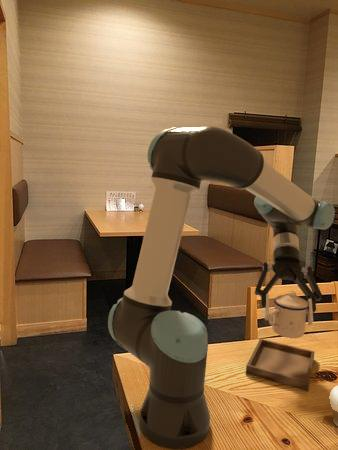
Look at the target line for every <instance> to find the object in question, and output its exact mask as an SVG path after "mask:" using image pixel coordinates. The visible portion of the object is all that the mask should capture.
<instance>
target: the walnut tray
mask: <svg viewBox="0 0 338 450" xmlns="http://www.w3.org/2000/svg"><path fill="white" fill-rule="evenodd" d="M315 352H316V351H313V350H310V349H305V348H302V347H297V346H293V345H289V344H284V343H281V342H277V341H273V340H267V339H264V338H260V339H259V340H258V342H257V344H256V346H255V348H254V350H253V352H252V354H251V356H250V358H249V359H248V362H247V364H246V366H245V367H246V368H245V375H248V376H252V377H255V378H258V379H263V380H266V381H269V382H273V383H277V384H281V385H284V386H288V387H291V388H294V389H298V390H301V391H305V392H309V389H310V382H311V378H312V371H313V365H314V360H315Z"/></svg>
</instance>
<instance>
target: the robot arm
mask: <svg viewBox="0 0 338 450" xmlns="http://www.w3.org/2000/svg"><path fill="white" fill-rule="evenodd" d="M147 163H149V167H150V169H151V171H152V173H151V177H150V180H151V181H152V183H153V185H154V187H155V189H154V194H153V197H152V201H151V205H150V210H149V214H148V217H147V222H146V227H145V231H144V235H143V240H142V243H141V248H140V252H139V255H138V256H139V257H138V259H137V260H138V261H137V264H136V268H135V272H134V277H133V281H132V285H131V286H130V287H129V288H127V289H125V290H124V291H123V295H122V297H121V298H119V299H118V300H117V303H115V304H113V305H112V307H111V309H110V311H109V314H108V318H107V319H108V320H107V328H108V332H109V334H110V336H111V337H112V339H113V340H114V342H116V344H118V346H119V347H120V348H122V349H123V350H125V351H127V352H128V353H129V354H131V355H132V356H134V357H135V358H136V359H138V360H139V361H140V362H142V363H143V364H144V365H146V366H147V367H148V369H149V383H148V384H149V385H148V390H147V393H146V395H145V398H144V400H143V403H142V405H141V408H140V410H139V411H140V412H139V427H140V430H141V431H140V432H142V434H143V435H144V436H145V438H147V439H148V440H149V441H150V442H152V443H153V444H156V445H158V446H160V447H163V448H168V449H187V448H191V447H193V446H196V445H198V444H200V443H201V442H203V440H204V439H206V438H207V436H208V434H209V433H210V425H211V413H210V410H209V407H208V404H207V400H206V395H205V382H206V372H207V371H206V370H207V369H206V368H207V360H208V359H207V358H208V350H209V348H208V347H209V342H208V330H207V328H206V326H205V325H206V324H204V323H203V322H202V320H200V318H198V317H197V316H195V315H193V314H191V313H188V312H185V311H183V312H182V311H180V310H171V308H172V304H173V301H172V300H171V299H170V297H169V294H168V293H169V290H170V285H171V281H172V276H173V273H174V270H175V264H176V260H177V257H178V256H177V255H178V253H179V248H180V244H181V240H182V235H183V231H184V227H185V222H186V219H187V215H188V210H189V207H190V202H191V198H192V196H193V195H194V194H196V193H198V192H199V191H200V188H201V182H202V181H210V182H217V183H222V184H226V185H229V186H230V187H232V188H233V189H237V190H246V191H247V192H249V193H250V194H252V195H253V196H255V197H254V200H253V205H254V207H255V208H256V210H257V211H258V213H259V214H260V215H261V217H262V218H263V219H264V220H265V221H266V223H267V224H268V225H269V226H270V228H271V229H272V236H273V237H272V242H273V244H272V245H273V246H272V247H273V254H272V256H273V263H272V264H269V263H268V262H263V263H262V272H261V275H260V277H259V280H258V282H257V285H256V286H255V290H254V295H255V296H259V297H260V306H261V308H264V321H269V320H268V318H269V314H270V294H269V292H270V291H271V289H272V288H273V287H274V286H275V284H276V283H277V282H278V281H279V280H282V281H286V280H287V281H289V282H294V283H295V284H296V285H297V286H298V288H299V289H300V290H301V292H302V293H303V294H304V296H305V297H306V299H307V300H306V301H307V303H308V305H309V307H308V308H307V325H308V326H312V325H313V323H314V314H315V313H316V311H317V303H316V302H320V301H321V299H322V297H323V293H322V292H321V290H320V287H319V285H318V283H317V281H316V279H315V276H314V274H313V268H312V266H311V265H309V266H307V267H303V266H302V265H301V259H300V258H301V257H300V245H299V244H300V242H299V226H301V227H306V228H309V229H310V228H311V229H314V230H327V229H329V228H330V227H331V226H332V224H333V223H334V219H335V213H336V212H335V210H336V209H335V207H334V205H333V203H331V202H329V201H324V200H317V199H315V198H314V197H312V196H311V195H310V194H308V193H307V192H306V191H304V190H303V189H302V188H300V187H299V186H298V185H296V184H295V183H294V182H293V181H291V180H290V179H288V177H286V176H285V175H283V174H282V173H281V172H280V171H278V170H276V168H274V167H273V166H271V165H270V164H269V163H267V162H266V161H265V157H264V155H263V153H262V152H261V151H260V150H259V149H257V148H256V147H255V146H253V145H252V144H251V143H249V142H248V141H246V140H244V139H243V138H242V137H239V136H238V135H236V134H234V133H232V132H230V131H229V130H226V129H224V128H221V127H218V126H212V125H209V126H208V125H207V126H205V125H204V126H191V127H190V126H188V127H182V126H174V127H171V128H167V129H164V130H163V129H162V131H160V132H158V133H157V134H156V135H155V136H154V137H153V138H152V140H151V141H150V144H149V147H148V150H147ZM271 270H272V271H273V273H274V275H273V277H272V278H271V279H270V280H269V282H268V283H267V284H266V286H265V287H264V288H263V289H262V287H263V284H264V281H265V279H266V277H267V274H268V273H269V272H270V271H271ZM301 273H303V276H305V278H306V281H307V283H308V284H307V283H306V282H305V281H304V279H303V277H302V275H301Z"/></svg>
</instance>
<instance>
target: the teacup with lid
mask: <svg viewBox="0 0 338 450" xmlns="http://www.w3.org/2000/svg"><path fill="white" fill-rule="evenodd" d="M307 301H308V300H306V299H305V298H303V297H300V296H298V295H297V292H295V291H293V290H291V291H288V293H287V294H280V295H278V296H276V297H275V298H274V300H273V302H274V306H273V307H274V308H273V309H272V310H271V311H269V318H268V320H267V321H268V323H269V325H270V326H271V329H272V331H273V332H274V333H276V335H278V336H281V337H283V338H289V339H300V338H302V337H303V336H304V335H305V331H306V322H307V317H308V315H307V308H308V307H309V305H308V303H307Z"/></svg>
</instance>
